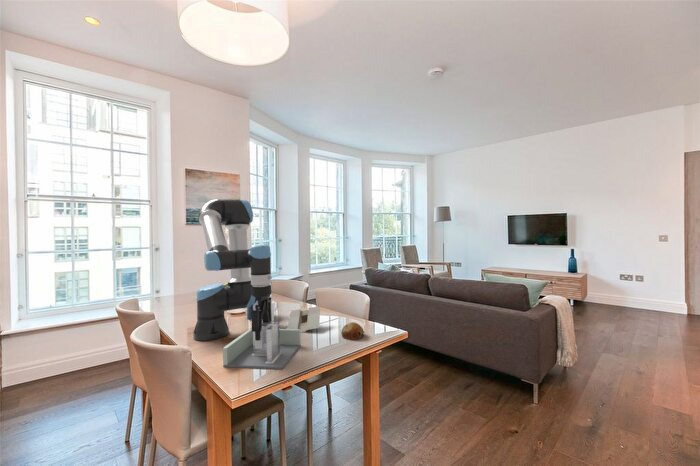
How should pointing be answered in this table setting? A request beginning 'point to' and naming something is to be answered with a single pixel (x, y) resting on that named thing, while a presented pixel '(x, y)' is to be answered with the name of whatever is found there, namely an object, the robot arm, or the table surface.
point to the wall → (304, 319)
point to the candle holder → (271, 311)
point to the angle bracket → (269, 341)
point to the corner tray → (242, 355)
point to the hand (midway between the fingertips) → (262, 344)
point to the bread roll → (352, 331)
